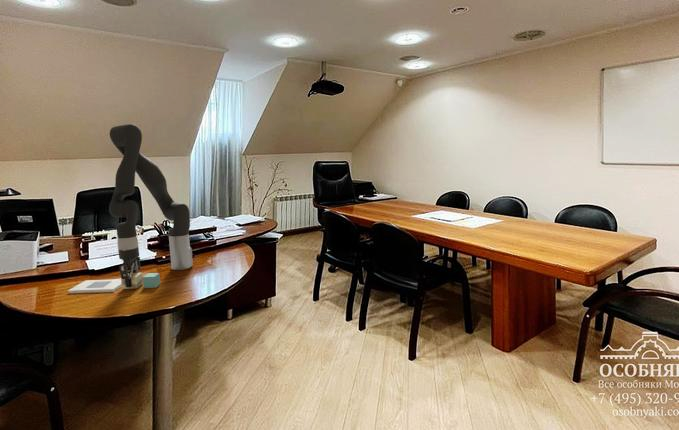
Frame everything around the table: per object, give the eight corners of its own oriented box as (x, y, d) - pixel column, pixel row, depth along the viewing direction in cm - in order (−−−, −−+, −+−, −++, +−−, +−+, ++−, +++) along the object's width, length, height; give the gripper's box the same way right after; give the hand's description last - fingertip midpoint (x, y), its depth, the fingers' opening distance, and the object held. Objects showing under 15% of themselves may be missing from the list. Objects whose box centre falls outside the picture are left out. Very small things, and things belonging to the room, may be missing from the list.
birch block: (142, 283, 160) (141, 272, 159) (136, 288, 154) (135, 277, 154) (128, 283, 160) (127, 273, 159) (122, 289, 154) (120, 277, 153)
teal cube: (160, 283, 161) (159, 272, 161) (155, 287, 157) (154, 276, 156) (148, 283, 161) (147, 273, 160) (143, 288, 156) (142, 277, 155)
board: (127, 281, 163) (127, 278, 163) (114, 291, 152) (113, 288, 151) (85, 282, 162) (85, 280, 162) (68, 293, 150) (68, 290, 150)
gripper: (127, 242, 161) (131, 278, 164) (110, 251, 146) (114, 291, 149) (144, 242, 161) (148, 278, 164) (129, 251, 147) (133, 290, 150)
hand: (132, 284), depth 157 cm, fingers closed on birch block, 6 cm apart
